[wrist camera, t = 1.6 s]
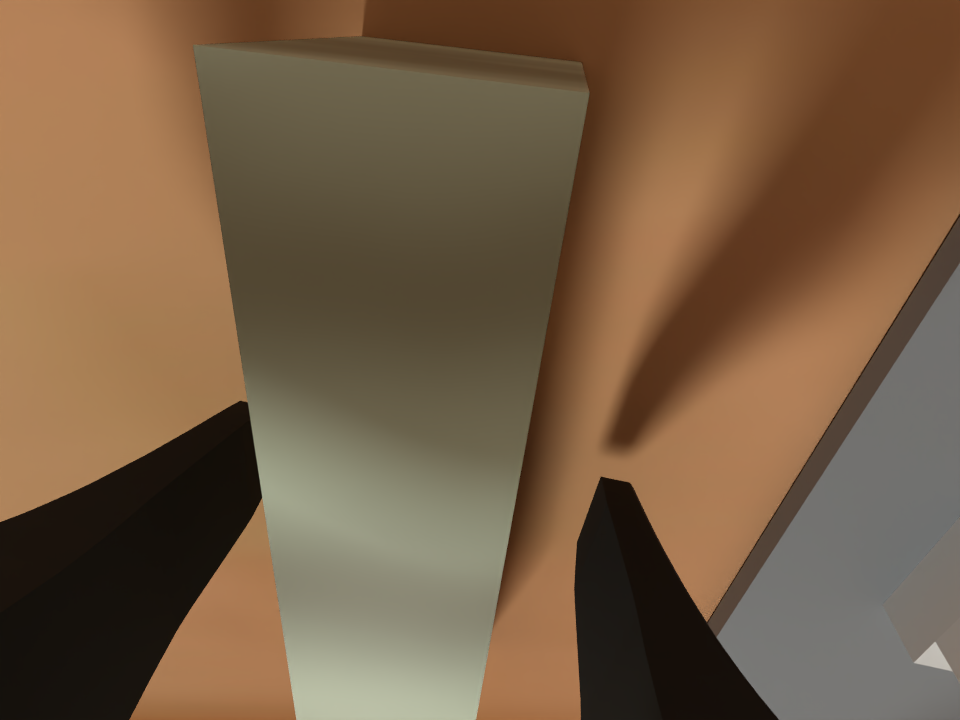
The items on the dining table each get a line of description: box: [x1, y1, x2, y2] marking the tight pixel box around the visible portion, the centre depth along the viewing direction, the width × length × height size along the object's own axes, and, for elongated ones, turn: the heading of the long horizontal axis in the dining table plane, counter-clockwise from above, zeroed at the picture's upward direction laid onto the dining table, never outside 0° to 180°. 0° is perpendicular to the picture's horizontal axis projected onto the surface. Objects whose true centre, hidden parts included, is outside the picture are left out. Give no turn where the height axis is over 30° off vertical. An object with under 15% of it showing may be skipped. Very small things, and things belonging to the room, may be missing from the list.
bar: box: [193, 36, 589, 720], centre depth 11 cm, size 16×4×5 cm, turn 175°
